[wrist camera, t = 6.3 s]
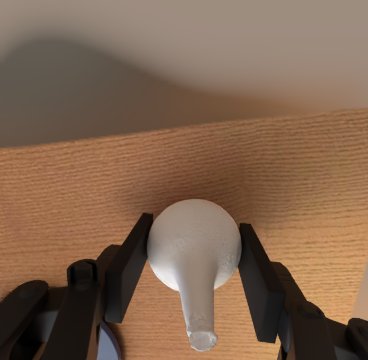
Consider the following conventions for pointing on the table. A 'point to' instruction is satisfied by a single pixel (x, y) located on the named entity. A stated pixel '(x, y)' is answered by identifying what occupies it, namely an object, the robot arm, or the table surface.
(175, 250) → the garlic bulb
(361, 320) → the robot arm
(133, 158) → the table surface
